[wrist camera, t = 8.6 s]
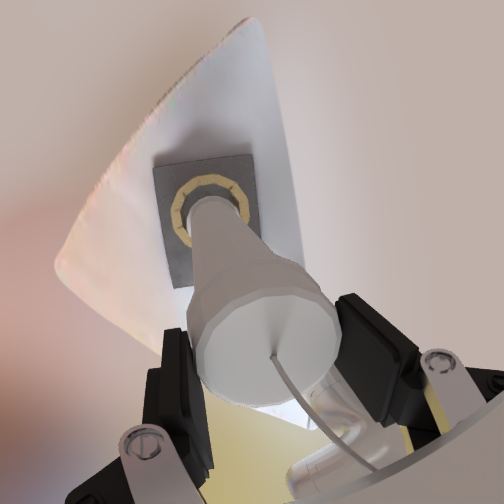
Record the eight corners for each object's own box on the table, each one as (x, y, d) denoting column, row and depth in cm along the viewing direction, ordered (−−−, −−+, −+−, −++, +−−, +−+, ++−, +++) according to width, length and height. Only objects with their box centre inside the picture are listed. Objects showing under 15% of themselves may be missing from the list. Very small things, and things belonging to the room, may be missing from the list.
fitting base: (261, 270, 47) (270, 283, 42) (173, 284, 45) (172, 300, 40) (250, 154, 42) (258, 153, 36) (153, 167, 39) (148, 168, 34)
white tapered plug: (205, 184, 31) (376, 390, 3) (252, 215, 33) (488, 426, 5) (176, 226, 31) (157, 545, 3) (223, 256, 33) (349, 539, 5)
